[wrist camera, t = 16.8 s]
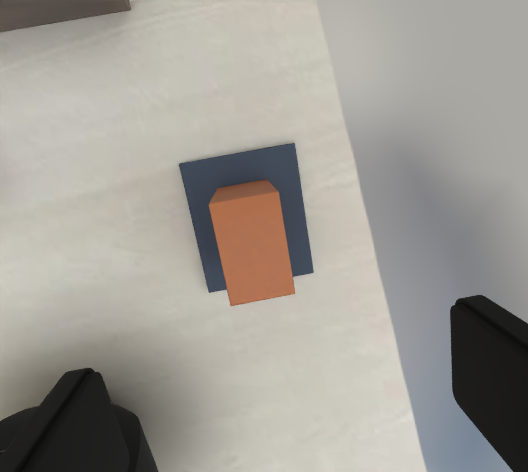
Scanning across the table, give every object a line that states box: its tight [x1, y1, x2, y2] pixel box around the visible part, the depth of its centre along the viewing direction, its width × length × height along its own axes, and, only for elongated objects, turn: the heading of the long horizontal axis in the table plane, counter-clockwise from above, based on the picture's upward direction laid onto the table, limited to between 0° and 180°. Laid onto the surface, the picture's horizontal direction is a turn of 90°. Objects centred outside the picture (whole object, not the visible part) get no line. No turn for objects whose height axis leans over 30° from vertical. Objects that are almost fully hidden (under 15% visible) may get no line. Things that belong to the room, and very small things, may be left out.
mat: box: [179, 143, 313, 293], centre depth 31 cm, size 10×12×1 cm
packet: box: [209, 179, 295, 306], centre depth 26 cm, size 7×4×9 cm, turn 10°
